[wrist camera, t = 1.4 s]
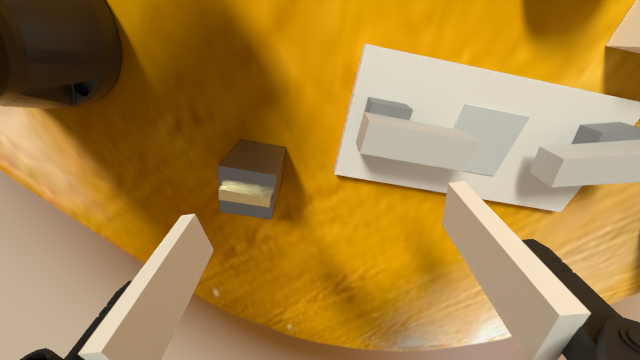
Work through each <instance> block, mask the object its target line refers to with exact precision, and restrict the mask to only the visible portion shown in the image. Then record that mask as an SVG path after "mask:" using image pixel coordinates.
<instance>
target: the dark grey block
mask: <svg viewBox="0 0 640 360" xmlns="http://www.w3.org/2000/svg"><path fill="white" fill-rule="evenodd" d="M285 152H286V147H282V146H277V145H271V144H265V143H259V142H253V141H248V140H242V139H240V140H239V141H238V142H237V143H236V145H235V146H234V147H233V148H232V150H231V151H230V152H229V153H228V154H227V156H226V157H225V158H224V159H223V161H222V162H221V163H220V164H219V166H218V172H219V190H218V192H219V208H220V212H226V213H233V214H239V215H246V216H252V217H259V218H266V219H272V217H273V213H274V210H275V206H276V203H277V199H278V196H279V192H280V189H281V185H282V177H283V169H284V160H285Z"/></svg>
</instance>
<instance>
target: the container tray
mask: <svg viewBox="0 0 640 360" xmlns="http://www.w3.org/2000/svg"><path fill="white" fill-rule="evenodd" d="M605 46H608V47H613V48H617V49H621V50H626V51H630V52H635V53H639V54H640V0H636V1H635V2H634V4H633V5H632V7H631V8H630V10H629V11H628V13H627V14H626V16H625V17H624V19H623V20H622V22H621V23H620V25H619V26H618V28H617V29H616V31H615V32H614V33H613V35H612V36H611V38H610V39H609V41H608V42H607V44H606V45H605Z"/></svg>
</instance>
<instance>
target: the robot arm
mask: <svg viewBox="0 0 640 360" xmlns="http://www.w3.org/2000/svg"><path fill="white" fill-rule="evenodd" d="M120 69H121V45H120V39H119V35H118V31H117V28H116V25H115V22H114V19H113V17H112V15H111V12H110V10H109V8H108V6H107V4H106V2H105V1H104V0H0V106H8V107H26V108H43V109H68V108H74V107H78V106H82V105H85V104H89V103H92V102H95V101H97V100H99V99H101V98H103V97H104V96H106V95H107V94H108V93H109V92H110V91H111V90H112V88H113V87H114V85H115V84H116V82H117V79H118V77H119V73H120ZM442 226H443V227H444V229H445V230H446V232H447V233H448V235H449V237H450V238H451V240H452V241H453V243H454V245H455V246H456V248H457V249H458V251H459V252H460V254H461V256H462V257H463V259H464V260H465V262H466V264H467V265H468V267H469V268H470V270H471V272H472V273H473V275H474V276H475V278H476V279H477V281H478V283H479V284H480V286H481V287H482V289H483V291H484V292H485V294H486V295H487V297H488V299H489V300H490V302H491V303H492V305H493V306H494V308H495V310H496V311H497V313H498V314H499V316H500V318H501V319H502V321H503V322H504V324H505V326H506V327H507V329H508V330H509V332H510V333H511V335H512V337H513V338H514V340H515V341H516V343H517V344H518V346H519V348H520V349H521V351H522V352H523V354H524V356H525V357H526V359H527V360H558V358H559V357H560V355H561V354H563V355H564V356H565V358H566V359H567V360H640V323H639V322H637V321H633V320H630V319H626V318H623V317H622V316H621V315H619V314H618V313H617V312H616V311H615V310H614V309H613V308H612V307H611V306H610V305H608V304H607V303H606V302H605V301H604V300H603V299H602V298H601V297H600V296H599V295H598V294H597V293H596V292H595V291H594V290H593V289H592V288H591V287H590V286H588V285H587V284H586V283H585V282H584V281H583V280H582V279H581V278H580V277H579V276H578V275H577V274H576V273H573V272H572V269H571V268H569V267H568V266H567V265H566V264H565V263H563V262H562V260H561V259H560V258H559V257H558V256H557V255H556V254H555V253H554V252H553V251H552V250H551V249H549V248H548V247H546V246H544V245H543V244H541V243H539V242H538V241H536V240H534V239H527V240H520V239H519V238H518V237H517V235H516V234H515V233H514V232H513V231H512V230H511V229H510V228H509V227H508V226H507V225H506V224H505V223H504V222H503V221H502V220H501V219H500V218H499V217H498V216H497V215H496V214H495V213H494V212H493V210H492V209H491V208H490V207H489V206H488V205H487V204H486V203H485V202H484V201H483V200H482V199H481V198H480V197H479V196H478V195H477V194H476V193H475V192H474V191H473V190H472V189H471V188H470V187H469V186H468V184H467V183H466V182H465V181H460V182H452V183H448V188H447V195H446V202H445V209H444V216H443V223H442ZM213 251H214V249H213V247H212V245H211V243H210V241H209V239H208V238H207V236H206V234H205V232H204V230H203V228H202V226H201V224H200V222H199V220H198V218H197V216H196V215H195V214H189V215H181V217H180V218H179V219H178V221H177V222H176V223H175V225H174V226H173V227H172V229H171V230H170V231H169V233H168V234H167V235H166V237H165V238H164V239H163V241H162V242H161V243H160V245H159V246H158V247H157V249H156V250H155V251H154V253H153V254H152V255H151V257H150V258H149V259H148V261H147V262H146V263H145V265H144V266H143V268H142V269H141V270H140V271H139V273H138V274H137V276H136V277H135V278H134V279H133V281H128V282H127V283H126V284H125V285H124V286H123V287H122V288H120V289H119V290H118V291H117V292H116V293H115V295H114V296H113V297H112V298H111V300H110V301H109V302H108V304H107V306H106V307H104V309H103V310H102V311H101V312H100V314H99V317H97V318H96V319H95V320H94V322H93V323H92V324H91V325H90V327H89V328H88V329H87V330H86V332H85V333H84V334H83V336H82V337H81V338H80V339H79V341H78V342H77V343H76V345H75V346H74V347H73V348H72V350H71V351H70V352H69V354H68V355H67V356H66V357H65V358H64V359H63V358H61V357H60V356H58V355H57V354H55V353H54V352H53V351H51V350H49V349H46V348H44V349H40V350H36V351H34V352H32V353H30V354H28V355H26V356H25V357H23V358H22V359H20V360H161V359H162V357H163V355H164V353H165V350H166V348H167V346H168V344H169V342H170V340H171V338H172V336H173V334H174V332H175V330H176V328H177V326H178V324H179V322H180V319H181V317H182V315H183V313H184V311H185V309H186V307H187V305H188V303H189V301H190V299H191V297H192V294H193V293H194V290H195V288H196V286H197V284H198V282H199V280H200V278H201V276H202V274H203V272H204V270H205V268H206V266H207V264H208V261H209V259H210V257H211V255H212V253H213Z"/></svg>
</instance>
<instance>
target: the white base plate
mask: <svg viewBox="0 0 640 360" xmlns="http://www.w3.org/2000/svg"><path fill="white" fill-rule="evenodd" d="M639 119H640V102H638V101H634V100H629V99H624V98H619V97H615V96H610V95H605V94H600V93H596V92H591V91H586V90H582V89H577V88H572V87H567V86H563V85H558V84H553V83H548V82H544V81H539V80H534V79H530V78H525V77H520V76H515V75H511V74H506V73H501V72H496V71H492V70H487V69H482V68H477V67H473V66H468V65H463V64H459V63H454V62H449V61H444V60H440V59H435V58H430V57H425V56H421V55H416V54H411V53H406V52H402V51H397V50H392V49H388V48H383V47H378V46H373V45H369V44H363V49H362V53H361V57H360V61H359V65H358V70H357V74H356V78H355V82H354V86H353V91H352V95H351V99H350V103H349V107H348V112H347V116H346V120H345V124H344V128H343V133H342V137H341V141H340V145H339V150H338V154H337V158H336V162H335V166H334V174H335V175H341V176H347V177H353V178H359V179H365V180H371V181H377V182H383V183H389V184H395V185H401V186H407V187H413V188H419V189H425V190H431V191H437V192H443V193H447V188H448V183H452V182H460V181H465V182H466V183H467V184H468V186H469V187H470V188H471V189H472V190H473V191H474V192H475V193H476V194H477V195H478V196H479V197H480V198H481V199H485V200H491V201H497V202H503V203H509V204H515V205H521V206H527V207H533V208H539V209H545V210H551V211H557V212H561V211H562V210H563V209H564V207H565V206H566V205H567V204H568V203H569V201H570V200H571V199H572V198H573V197H574V196H575V194H576V193H577V192H578V191H579V190H580V188H581V187H582V186H583V185H599V184H616V183H633V182H640V128H639V127H636V126H634V125H635V123H636V122H637V121H638V120H639Z"/></svg>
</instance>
